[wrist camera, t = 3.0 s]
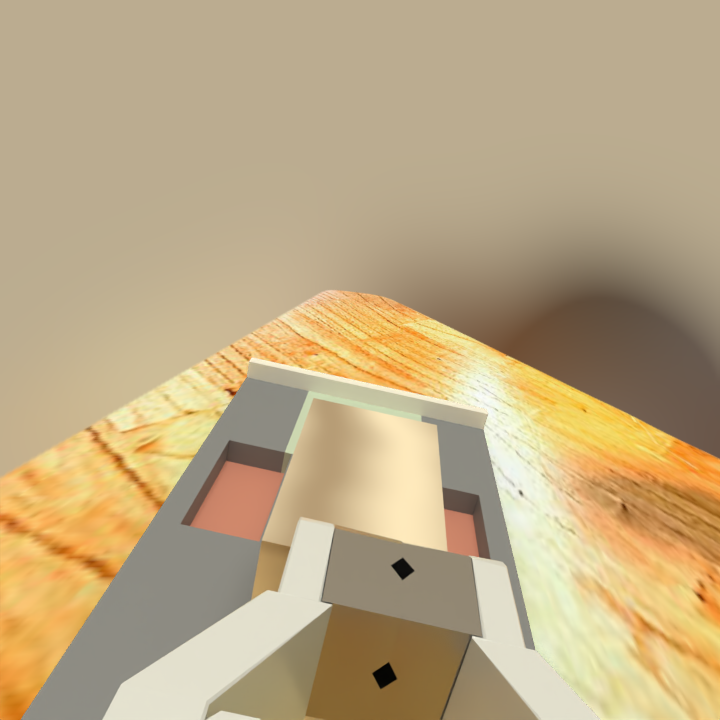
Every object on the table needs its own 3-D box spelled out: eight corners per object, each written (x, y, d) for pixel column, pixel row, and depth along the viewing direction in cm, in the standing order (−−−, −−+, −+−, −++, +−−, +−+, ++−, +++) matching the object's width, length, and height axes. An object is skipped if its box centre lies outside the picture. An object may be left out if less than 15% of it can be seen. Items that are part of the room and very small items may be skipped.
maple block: (390, 589, 33) (437, 425, 30) (381, 795, 23) (449, 581, 20) (280, 565, 33) (313, 397, 30) (222, 760, 23) (261, 540, 20)
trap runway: (476, 443, 56) (486, 409, 55) (572, 919, 22) (605, 857, 21) (246, 393, 56) (252, 357, 55) (-2, 792, 22) (-3, 723, 21)
